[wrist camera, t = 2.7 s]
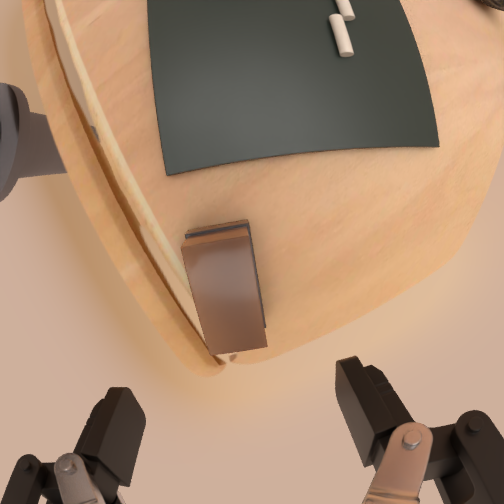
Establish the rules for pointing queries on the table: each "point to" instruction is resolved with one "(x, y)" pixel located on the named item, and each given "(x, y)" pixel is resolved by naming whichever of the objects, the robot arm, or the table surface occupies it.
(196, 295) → the eraser
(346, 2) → the chalk
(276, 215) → the table surface
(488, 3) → the decorative stone
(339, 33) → the chalk
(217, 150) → the slate board
